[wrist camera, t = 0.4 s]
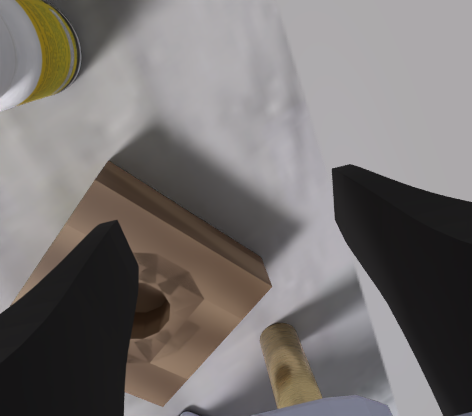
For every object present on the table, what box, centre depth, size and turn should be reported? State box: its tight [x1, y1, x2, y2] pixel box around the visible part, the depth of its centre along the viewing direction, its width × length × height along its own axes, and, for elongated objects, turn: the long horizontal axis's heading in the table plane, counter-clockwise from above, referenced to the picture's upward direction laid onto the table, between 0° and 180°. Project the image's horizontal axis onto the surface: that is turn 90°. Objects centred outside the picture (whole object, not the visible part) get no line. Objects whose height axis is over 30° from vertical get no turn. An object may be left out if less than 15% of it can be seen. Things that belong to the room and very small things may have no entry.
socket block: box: [10, 161, 272, 407], centre depth 23 cm, size 12×12×4 cm
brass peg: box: [260, 323, 322, 409], centre depth 25 cm, size 3×3×8 cm
